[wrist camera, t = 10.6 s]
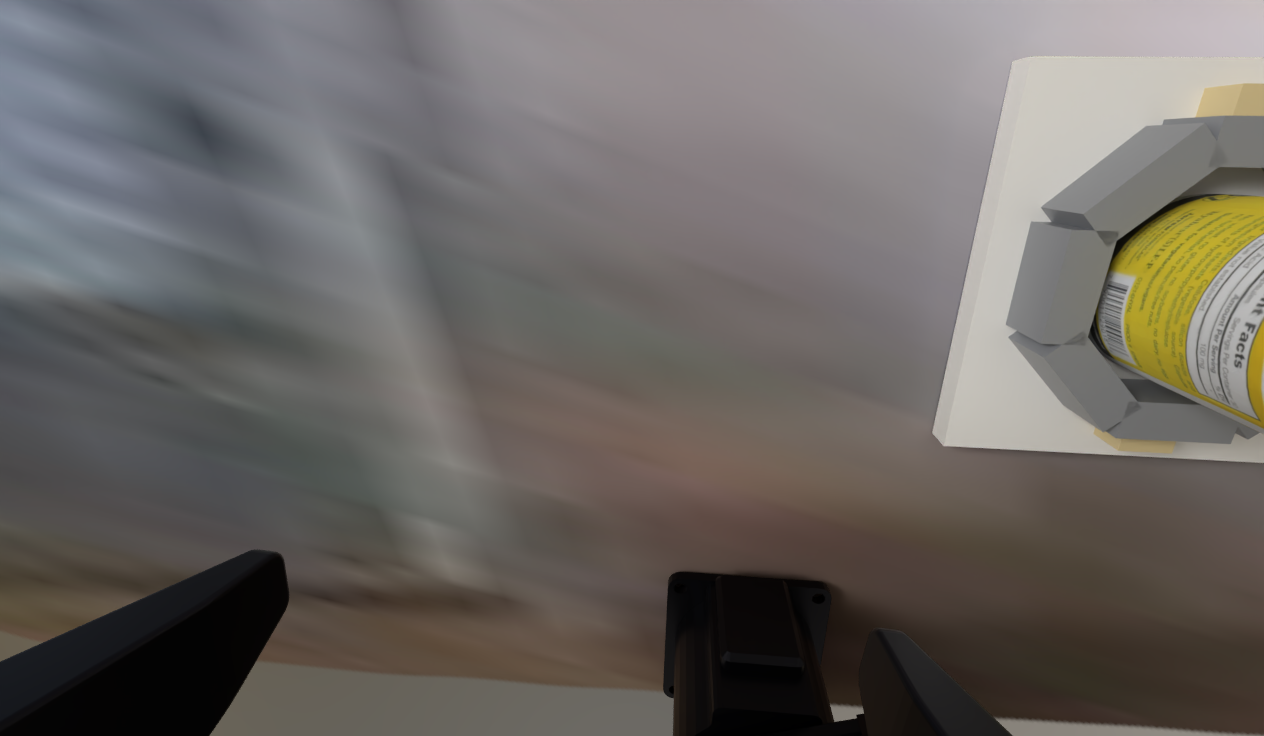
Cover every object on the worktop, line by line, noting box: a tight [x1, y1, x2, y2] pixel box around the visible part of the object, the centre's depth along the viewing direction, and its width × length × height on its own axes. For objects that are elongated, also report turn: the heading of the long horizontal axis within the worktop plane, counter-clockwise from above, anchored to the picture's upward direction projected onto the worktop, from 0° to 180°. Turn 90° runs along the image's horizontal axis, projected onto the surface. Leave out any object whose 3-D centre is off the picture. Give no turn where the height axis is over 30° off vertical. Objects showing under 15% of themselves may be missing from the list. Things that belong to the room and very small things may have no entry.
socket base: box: [932, 56, 1264, 463], centre depth 17 cm, size 12×11×3 cm
